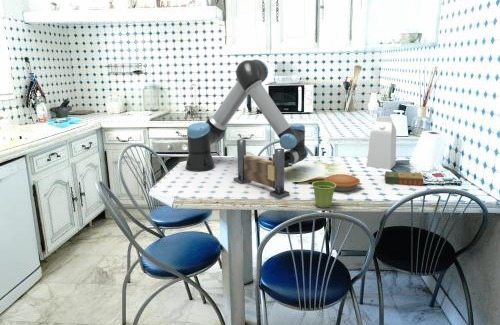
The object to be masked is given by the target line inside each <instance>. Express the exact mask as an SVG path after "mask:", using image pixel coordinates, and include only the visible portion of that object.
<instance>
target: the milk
mask: <svg viewBox="0 0 500 325" xmlns="http://www.w3.org/2000/svg"><path fill="white" fill-rule="evenodd" d="M369 135H370V136H369V142H368V151H367V152H368V153H367V160H366V167H368V168H376V169H381V170H382V169H384V170H391V169H392V168H393V167H395V165H396V162H397V161H396V159H397V156H396V155H397V128H396V126H395V124H394V122H393V119H392V116H385V115H384V116H382V115H378V116H377V118H376V120H375V122H374V124H373V126H372V128H371V130H370V134H369Z"/></svg>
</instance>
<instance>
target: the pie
mask: <svg viewBox="0 0 500 325" xmlns="http://www.w3.org/2000/svg"><path fill="white" fill-rule="evenodd" d="M323 181H329V182H333V183H335V184H336V187H335V190H334V191H335V192H340V193H344V192H346V193H348V192H353V191H354V190H355V189H356V188H357V186H358V185H359V184H360V182H361V180H360V179H359V178H358V177H356V176H353V175H350V174H343V173H340V174H339V173H337V174H332V175H331V174H330V175H329V176H327V177H325V178H324V180H323Z"/></svg>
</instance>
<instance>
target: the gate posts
mask: <svg viewBox="0 0 500 325" xmlns="http://www.w3.org/2000/svg"><path fill="white" fill-rule="evenodd" d="M246 143H247V141H246V139H243V138H239V139H237V140H236V144H237V146H236V147H237V149H236V151H237V153H236V155H237V177H236V176H235V177H233V182H234V183H237V184H240V185H242V184H248V183H251V182H252V181H250V180H247V179H245V178H244V157H243V156H244V155H247V144H246ZM284 152H285V149H284V148H275V149H274V154H275V166H272V165H268V179H270V180H273V181H275V189H273V190H271V191H269V196H270V197H273V198H276V199H278V200H280V199H283V198H287V197H290V191H287V190H285V168H284Z"/></svg>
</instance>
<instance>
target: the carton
mask: <svg viewBox="0 0 500 325" xmlns="http://www.w3.org/2000/svg"><path fill="white" fill-rule="evenodd" d="M384 183H385V184H386V185H399V186H401V185H402V186H417V187H419V186H420V187H423V186H424V177H423V174H422V173H421V172H409V171H406V172H404V171H403V172H402V171H386V170H385V173H384Z"/></svg>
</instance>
